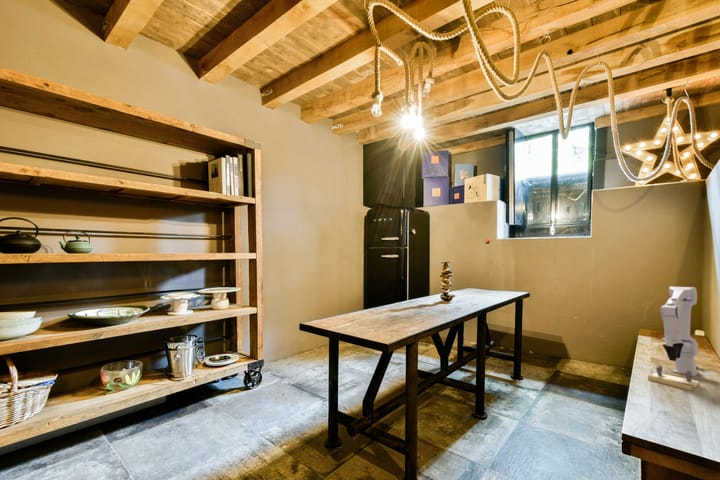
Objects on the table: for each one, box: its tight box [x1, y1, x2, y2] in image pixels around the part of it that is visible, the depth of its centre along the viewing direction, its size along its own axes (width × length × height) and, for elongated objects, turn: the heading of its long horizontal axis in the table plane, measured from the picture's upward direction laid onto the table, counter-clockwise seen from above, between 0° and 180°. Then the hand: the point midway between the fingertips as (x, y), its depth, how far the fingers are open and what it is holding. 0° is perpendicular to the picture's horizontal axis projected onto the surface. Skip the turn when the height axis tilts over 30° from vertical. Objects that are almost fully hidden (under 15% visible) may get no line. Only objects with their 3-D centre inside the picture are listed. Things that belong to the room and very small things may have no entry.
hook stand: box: [651, 365, 699, 388], centre depth 151 cm, size 7×15×5 cm, turn 35°
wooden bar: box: [647, 374, 695, 392], centre depth 146 cm, size 2×15×2 cm, turn 26°
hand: (674, 359), depth 153 cm, fingers open, 7 cm apart
